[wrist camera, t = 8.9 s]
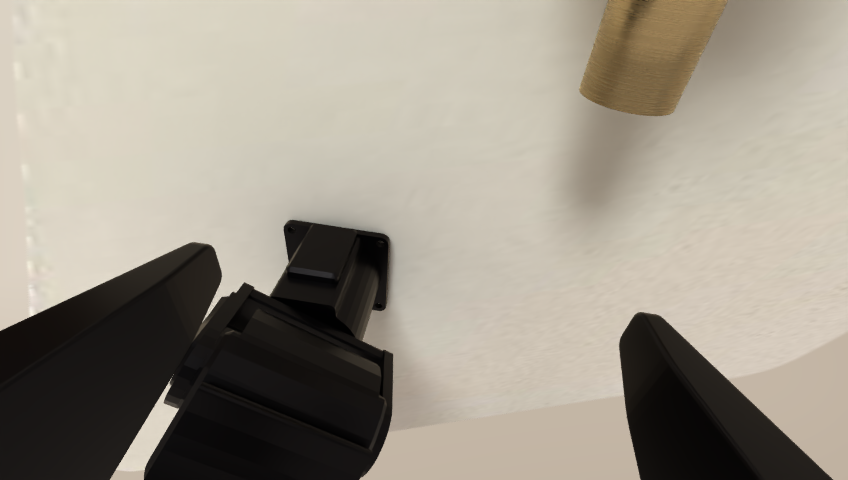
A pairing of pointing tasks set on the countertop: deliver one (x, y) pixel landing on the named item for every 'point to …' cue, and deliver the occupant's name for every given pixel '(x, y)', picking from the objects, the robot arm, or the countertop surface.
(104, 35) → the countertop surface
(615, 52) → the tube
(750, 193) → the countertop surface
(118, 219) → the countertop surface
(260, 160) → the countertop surface
